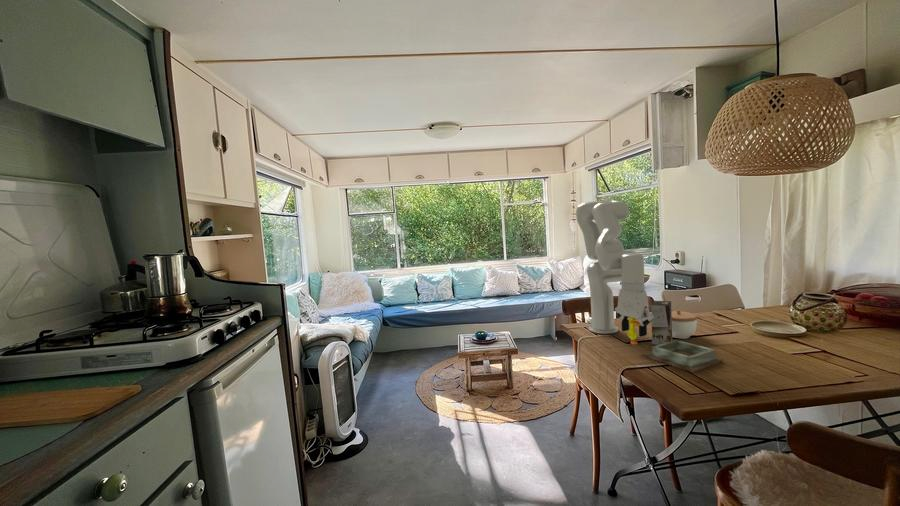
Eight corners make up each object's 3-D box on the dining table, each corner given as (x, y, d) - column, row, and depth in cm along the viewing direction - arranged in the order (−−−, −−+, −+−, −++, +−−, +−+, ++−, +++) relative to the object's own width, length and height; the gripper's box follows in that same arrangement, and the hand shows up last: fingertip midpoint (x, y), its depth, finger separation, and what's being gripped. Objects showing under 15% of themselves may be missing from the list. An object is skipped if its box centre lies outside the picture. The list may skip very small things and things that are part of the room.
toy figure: (645, 345, 129) (644, 314, 127) (636, 347, 128) (635, 315, 127) (631, 340, 135) (630, 309, 134) (623, 341, 134) (622, 311, 133)
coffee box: (670, 346, 134) (669, 305, 133) (651, 344, 138) (650, 304, 137) (673, 340, 141) (671, 300, 140) (654, 337, 145) (653, 299, 144)
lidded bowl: (694, 342, 137) (694, 315, 136) (658, 337, 145) (657, 311, 145) (700, 334, 146) (699, 308, 145) (665, 330, 154) (664, 305, 154)
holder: (646, 357, 126) (645, 346, 125) (675, 348, 132) (674, 338, 132) (692, 372, 111) (692, 360, 111) (722, 361, 117) (722, 350, 117)
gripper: (606, 284, 136) (607, 329, 137) (647, 291, 120) (648, 341, 122) (620, 281, 139) (621, 325, 140) (662, 288, 123) (662, 337, 125)
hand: (633, 332), depth 131 cm, fingers closed on toy figure, 6 cm apart
